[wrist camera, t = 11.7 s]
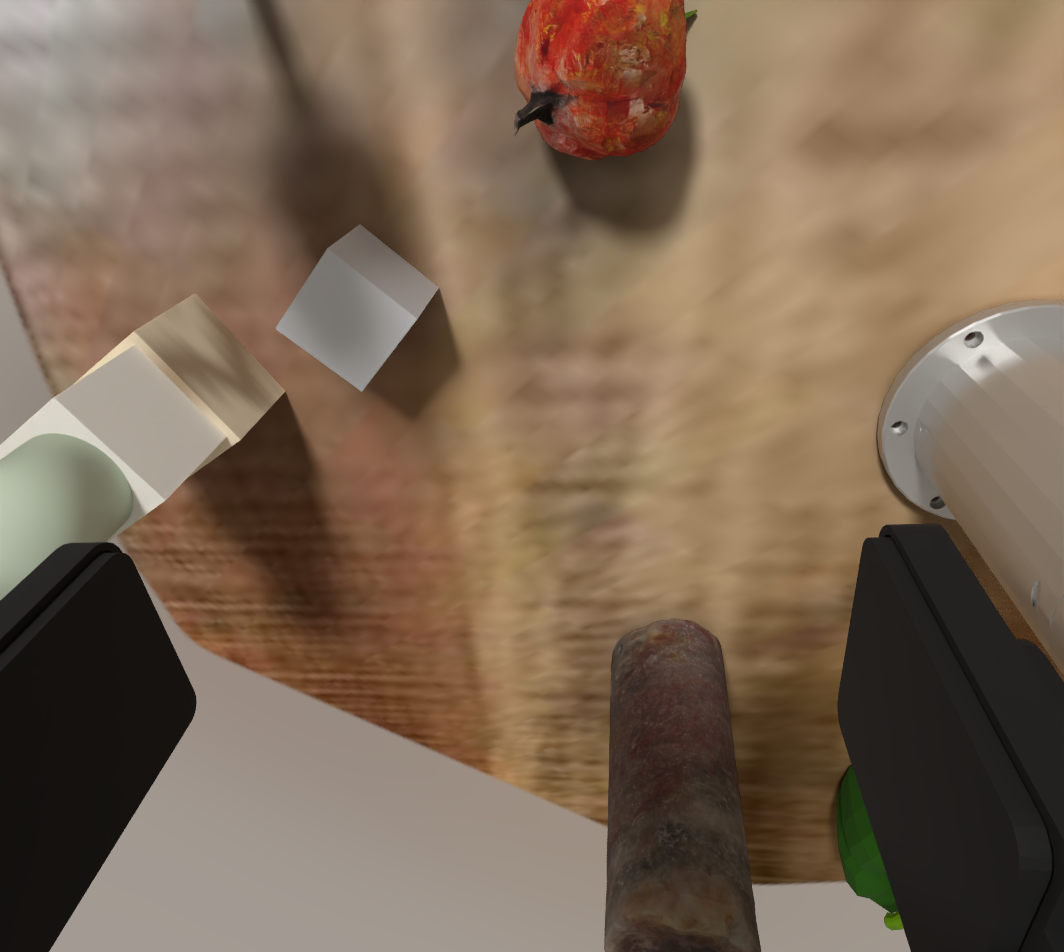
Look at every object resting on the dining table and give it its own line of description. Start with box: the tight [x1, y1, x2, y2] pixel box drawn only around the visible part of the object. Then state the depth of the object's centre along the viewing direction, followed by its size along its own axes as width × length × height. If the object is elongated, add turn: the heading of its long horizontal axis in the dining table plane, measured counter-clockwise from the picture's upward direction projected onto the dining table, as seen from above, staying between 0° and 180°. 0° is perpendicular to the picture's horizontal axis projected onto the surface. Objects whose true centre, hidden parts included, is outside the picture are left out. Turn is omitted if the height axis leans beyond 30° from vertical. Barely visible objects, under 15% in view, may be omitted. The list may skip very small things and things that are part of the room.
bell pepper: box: [837, 765, 903, 930], centre depth 50 cm, size 8×8×10 cm
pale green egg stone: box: [0, 433, 133, 600], centre depth 30 cm, size 5×5×6 cm
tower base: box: [74, 293, 285, 478], centre depth 40 cm, size 7×7×6 cm
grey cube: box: [275, 224, 439, 392], centre depth 37 cm, size 5×5×5 cm
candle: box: [604, 619, 761, 952], centre depth 42 cm, size 8×7×20 cm
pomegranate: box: [514, 0, 697, 160], centre depth 30 cm, size 7×7×10 cm
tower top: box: [0, 345, 227, 542], centre depth 35 cm, size 6×6×6 cm
